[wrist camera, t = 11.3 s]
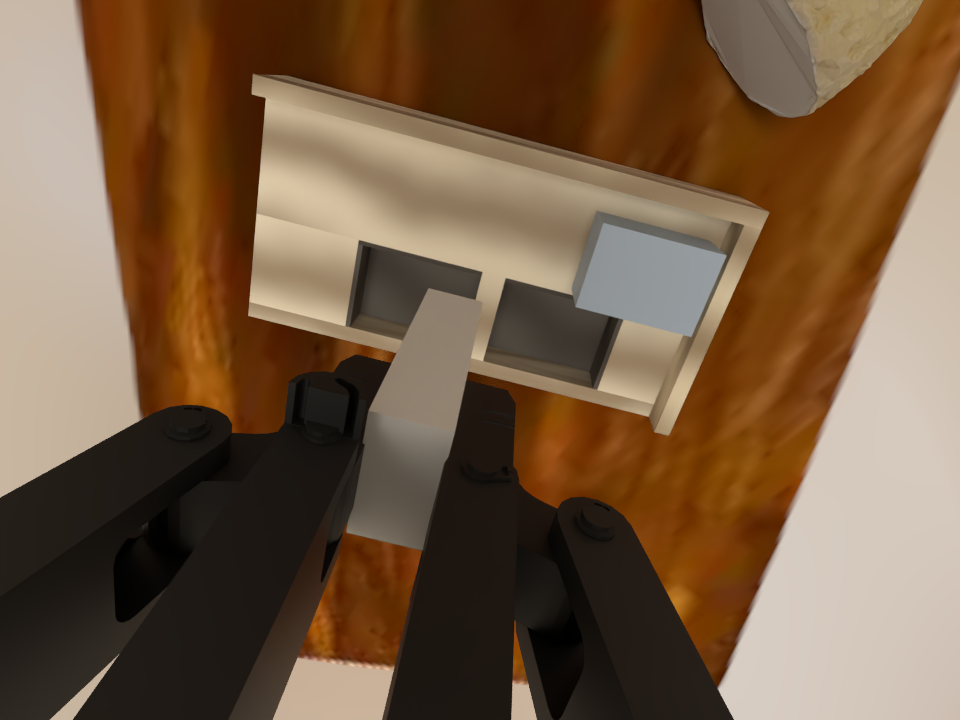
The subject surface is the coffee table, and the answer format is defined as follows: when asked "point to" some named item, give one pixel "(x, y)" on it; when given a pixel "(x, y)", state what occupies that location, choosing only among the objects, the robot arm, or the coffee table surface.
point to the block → (646, 274)
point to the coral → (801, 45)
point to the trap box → (471, 243)
